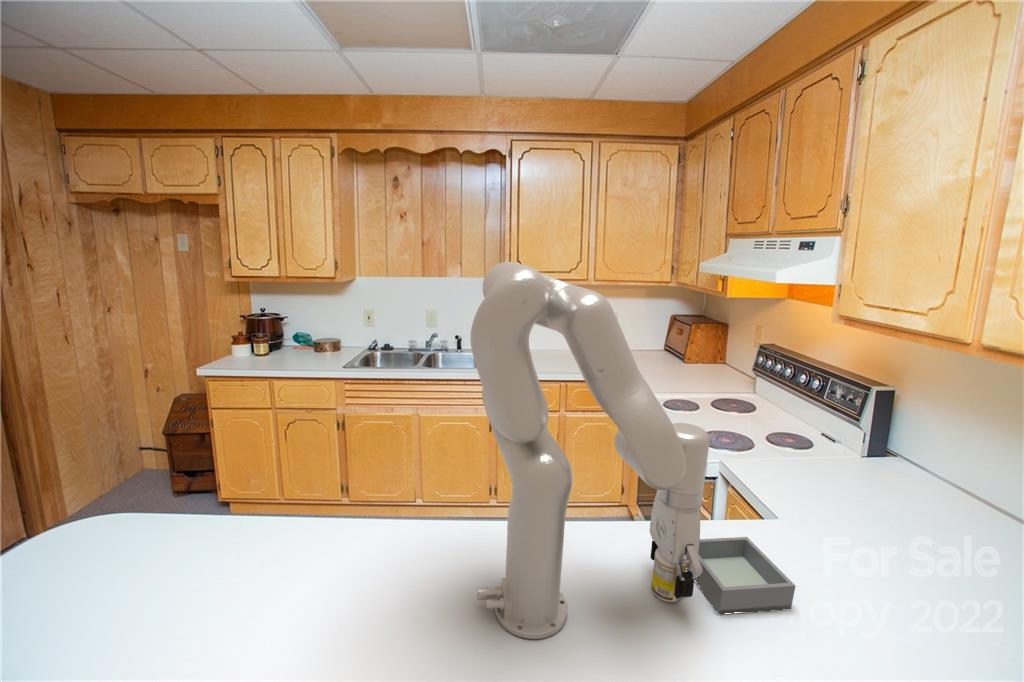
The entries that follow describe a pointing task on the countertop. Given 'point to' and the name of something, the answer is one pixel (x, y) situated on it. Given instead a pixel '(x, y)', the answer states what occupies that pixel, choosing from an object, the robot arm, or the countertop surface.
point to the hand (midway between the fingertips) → (670, 576)
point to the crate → (741, 577)
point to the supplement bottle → (664, 577)
